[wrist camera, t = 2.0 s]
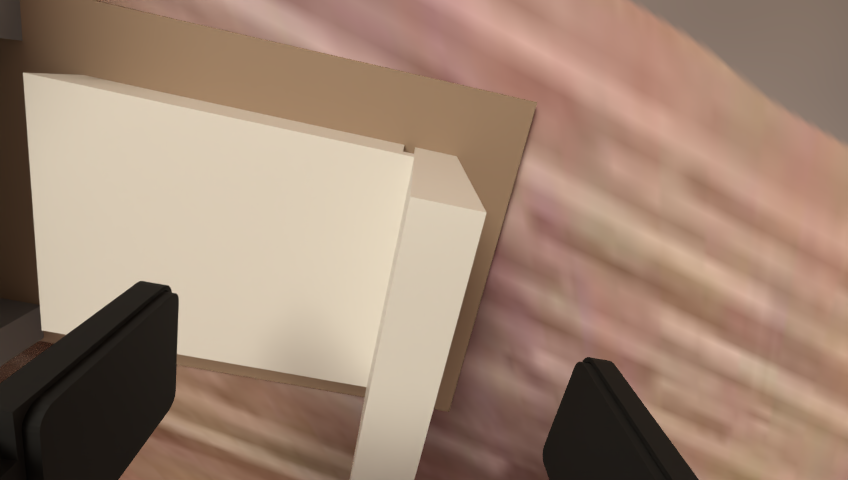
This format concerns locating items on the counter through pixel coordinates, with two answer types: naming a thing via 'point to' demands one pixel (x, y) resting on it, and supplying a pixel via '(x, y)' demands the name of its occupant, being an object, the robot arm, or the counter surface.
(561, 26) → the counter surface
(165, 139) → the white l-shaped block
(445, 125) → the shelf dock
